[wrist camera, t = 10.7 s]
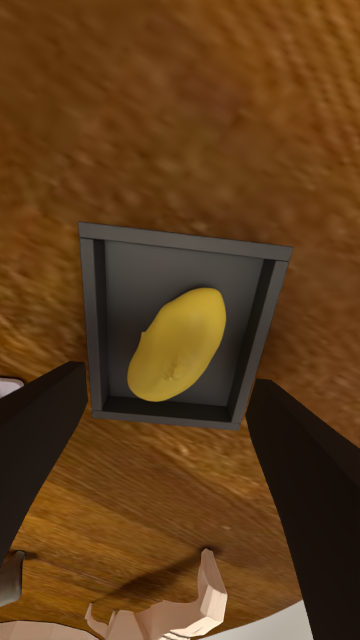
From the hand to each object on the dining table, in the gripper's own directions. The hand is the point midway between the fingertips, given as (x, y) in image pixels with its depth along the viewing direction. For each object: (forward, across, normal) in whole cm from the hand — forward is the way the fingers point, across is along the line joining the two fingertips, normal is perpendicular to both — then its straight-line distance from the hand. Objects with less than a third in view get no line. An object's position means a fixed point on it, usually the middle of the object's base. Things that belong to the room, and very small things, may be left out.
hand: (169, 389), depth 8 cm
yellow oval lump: (+5, 0, 0) cm, 5 cm away
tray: (+6, 0, 0) cm, 6 cm away
